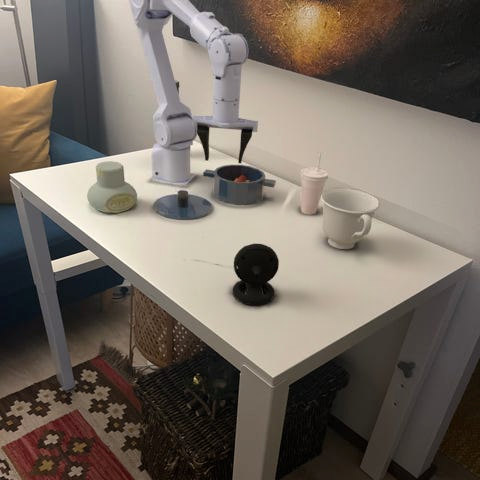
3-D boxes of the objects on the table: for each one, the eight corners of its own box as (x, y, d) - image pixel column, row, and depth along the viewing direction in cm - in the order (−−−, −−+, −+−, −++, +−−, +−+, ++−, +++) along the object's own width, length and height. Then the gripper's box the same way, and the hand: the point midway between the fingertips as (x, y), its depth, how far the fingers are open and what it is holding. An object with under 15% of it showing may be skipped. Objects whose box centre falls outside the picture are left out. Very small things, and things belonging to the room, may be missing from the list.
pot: (267, 212, 118) (270, 188, 114) (196, 200, 121) (196, 176, 117) (277, 193, 128) (280, 170, 124) (211, 182, 131) (212, 160, 127)
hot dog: (240, 202, 121) (241, 187, 118) (227, 200, 121) (228, 184, 119) (249, 190, 127) (250, 175, 125) (236, 188, 128) (237, 173, 125)
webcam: (272, 283, 93) (278, 235, 87) (276, 307, 87) (283, 256, 81) (231, 282, 92) (234, 233, 86) (232, 305, 86) (235, 254, 80)
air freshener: (98, 220, 109) (93, 175, 103) (83, 206, 114) (77, 163, 108) (143, 210, 115) (141, 167, 109) (127, 197, 120) (124, 156, 114)
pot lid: (201, 226, 110) (201, 208, 107) (144, 216, 112) (143, 198, 110) (218, 203, 120) (219, 186, 118) (166, 194, 123) (166, 177, 120)
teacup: (332, 266, 99) (342, 220, 94) (305, 232, 111) (311, 189, 105) (386, 261, 103) (398, 216, 97) (354, 228, 114) (363, 186, 108)
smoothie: (323, 217, 118) (333, 158, 109) (296, 216, 118) (304, 156, 109) (320, 206, 123) (329, 149, 115) (294, 204, 123) (302, 147, 114)
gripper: (190, 99, 105) (190, 163, 113) (259, 105, 105) (254, 169, 113) (194, 92, 110) (194, 153, 118) (259, 97, 110) (254, 158, 118)
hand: (223, 160), depth 116 cm, fingers open, 7 cm apart
